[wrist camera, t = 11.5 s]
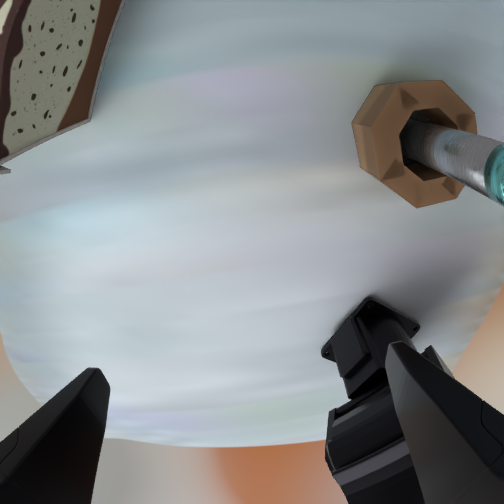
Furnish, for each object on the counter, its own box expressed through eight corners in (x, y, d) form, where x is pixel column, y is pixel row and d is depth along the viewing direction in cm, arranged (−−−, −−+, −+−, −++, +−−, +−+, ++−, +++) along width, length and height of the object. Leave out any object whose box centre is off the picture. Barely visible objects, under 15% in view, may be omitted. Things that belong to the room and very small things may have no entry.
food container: (63, -30, 12) (-27, -68, 3) (138, -31, 13) (64, -98, 4) (19, 130, 18) (-84, 165, 9) (85, 143, 18) (-18, 186, 9)
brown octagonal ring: (463, 127, 18) (493, 134, 14) (414, 206, 20) (438, 225, 17) (389, 61, 16) (414, 56, 13) (334, 149, 19) (350, 160, 16)
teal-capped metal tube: (426, 133, 18) (548, 176, 8) (408, 161, 19) (521, 225, 9) (400, 111, 17) (522, 136, 8) (381, 140, 18) (493, 189, 8)
